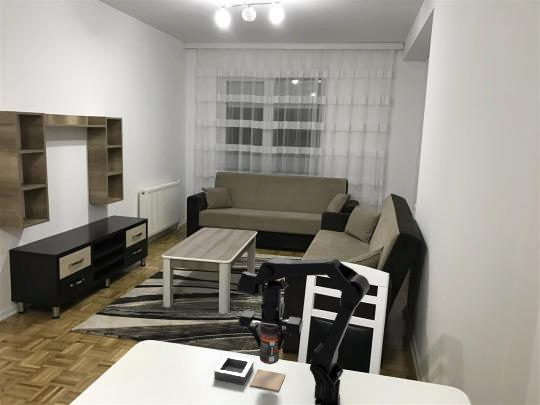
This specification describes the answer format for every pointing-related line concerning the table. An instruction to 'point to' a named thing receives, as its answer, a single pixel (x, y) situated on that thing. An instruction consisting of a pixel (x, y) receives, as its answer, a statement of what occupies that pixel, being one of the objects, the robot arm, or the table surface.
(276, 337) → the supplement bottle
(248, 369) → the collar
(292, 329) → the robot arm
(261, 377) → the pad
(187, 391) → the table surface
